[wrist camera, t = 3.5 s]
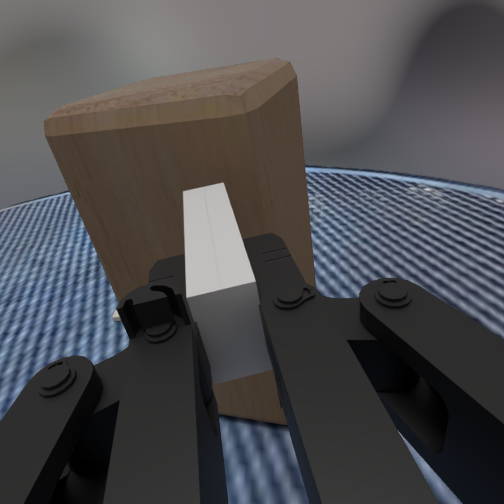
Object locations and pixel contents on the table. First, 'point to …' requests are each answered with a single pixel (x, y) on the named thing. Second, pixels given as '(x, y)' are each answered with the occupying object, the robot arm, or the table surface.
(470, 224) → the table surface
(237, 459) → the table surface
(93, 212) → the wooden block
